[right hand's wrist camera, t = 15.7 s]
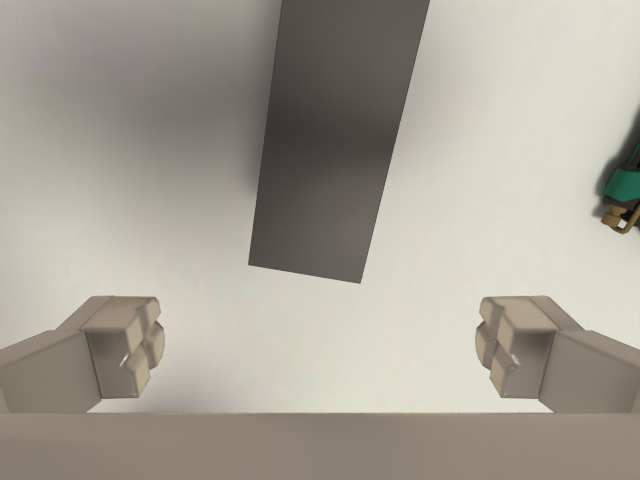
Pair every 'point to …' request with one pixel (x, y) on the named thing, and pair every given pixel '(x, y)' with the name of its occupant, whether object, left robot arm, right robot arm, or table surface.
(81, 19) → the table surface
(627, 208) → the spray gun
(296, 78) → the box
